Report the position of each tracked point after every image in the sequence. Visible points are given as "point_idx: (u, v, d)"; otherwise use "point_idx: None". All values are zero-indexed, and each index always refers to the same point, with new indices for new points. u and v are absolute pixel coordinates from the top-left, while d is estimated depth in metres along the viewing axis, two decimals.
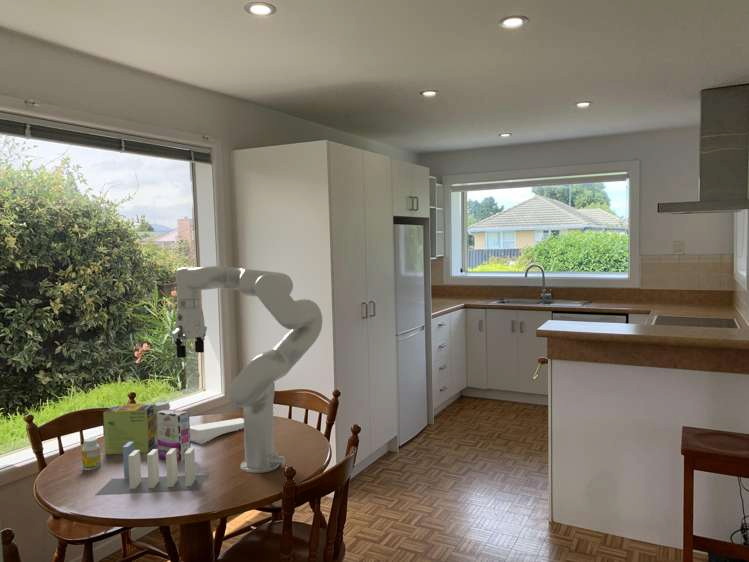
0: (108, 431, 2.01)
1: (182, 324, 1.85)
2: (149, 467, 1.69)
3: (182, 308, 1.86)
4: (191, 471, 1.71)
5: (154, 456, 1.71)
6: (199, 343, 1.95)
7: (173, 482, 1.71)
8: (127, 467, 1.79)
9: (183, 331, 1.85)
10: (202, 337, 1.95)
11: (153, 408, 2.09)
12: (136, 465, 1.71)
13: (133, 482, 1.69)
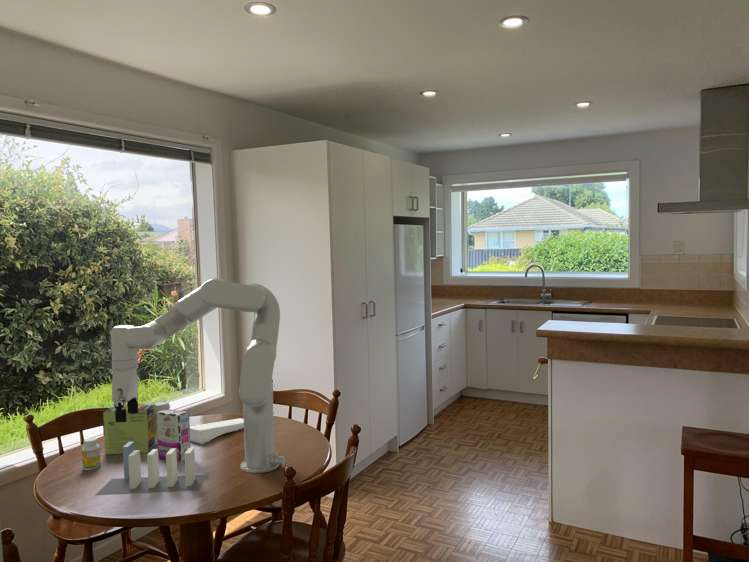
0: (108, 431, 2.01)
1: None
2: (149, 467, 1.69)
3: None
4: (191, 471, 1.71)
5: (154, 456, 1.71)
6: None
7: (173, 482, 1.71)
8: (127, 467, 1.79)
9: None
10: None
11: (153, 408, 2.09)
12: (136, 465, 1.71)
13: (133, 482, 1.69)
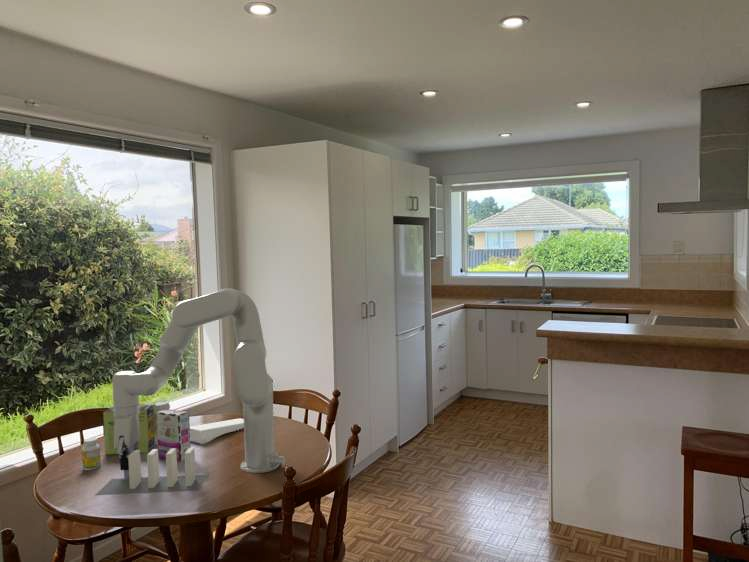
0: (108, 431, 2.01)
1: None
2: (149, 467, 1.69)
3: None
4: (191, 471, 1.71)
5: (154, 456, 1.71)
6: None
7: (173, 482, 1.71)
8: None
9: None
10: None
11: (153, 408, 2.09)
12: (136, 465, 1.71)
13: (133, 482, 1.69)
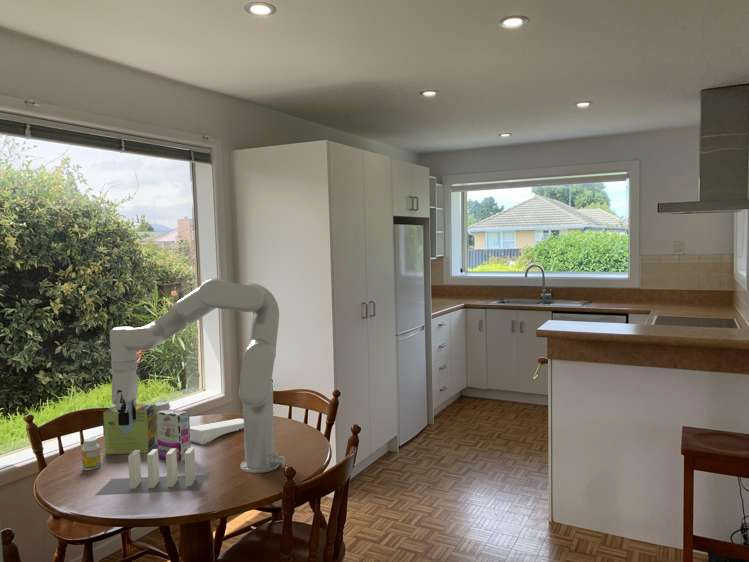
0: (108, 431, 2.01)
1: None
2: (149, 467, 1.69)
3: None
4: (191, 471, 1.71)
5: (154, 456, 1.71)
6: None
7: (173, 482, 1.71)
8: None
9: None
10: None
11: (153, 408, 2.09)
12: (136, 465, 1.71)
13: (133, 482, 1.69)
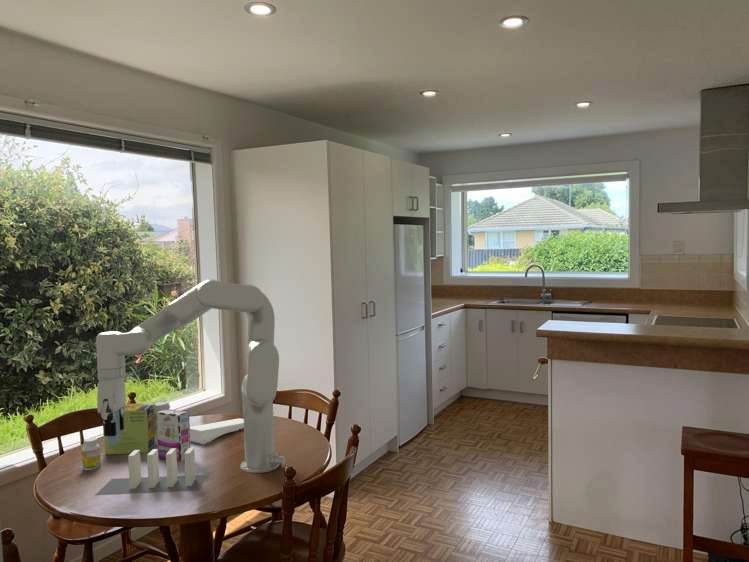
0: None
1: None
2: (149, 467, 1.69)
3: None
4: (191, 471, 1.71)
5: (154, 456, 1.71)
6: None
7: (173, 482, 1.71)
8: None
9: None
10: None
11: (153, 408, 2.09)
12: (136, 465, 1.71)
13: (133, 482, 1.69)
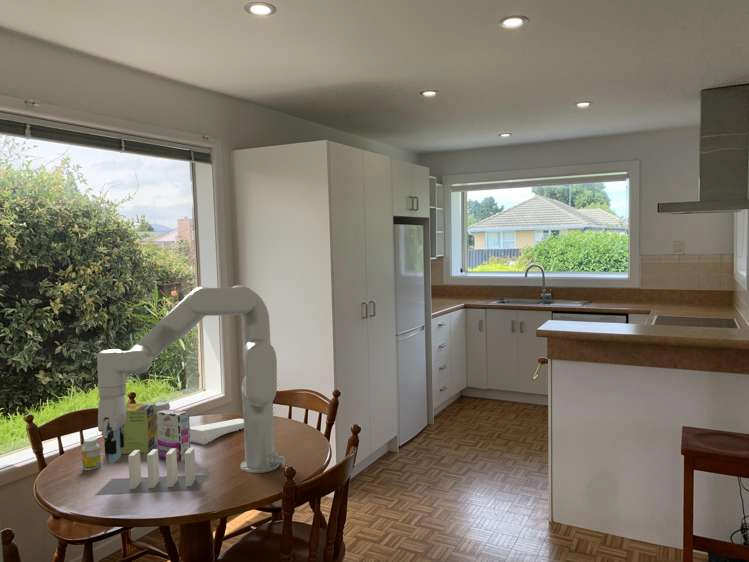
0: None
1: None
2: (149, 467, 1.69)
3: None
4: (191, 471, 1.71)
5: (154, 456, 1.71)
6: None
7: (173, 482, 1.71)
8: None
9: None
10: None
11: (153, 408, 2.09)
12: (136, 465, 1.71)
13: (133, 482, 1.69)
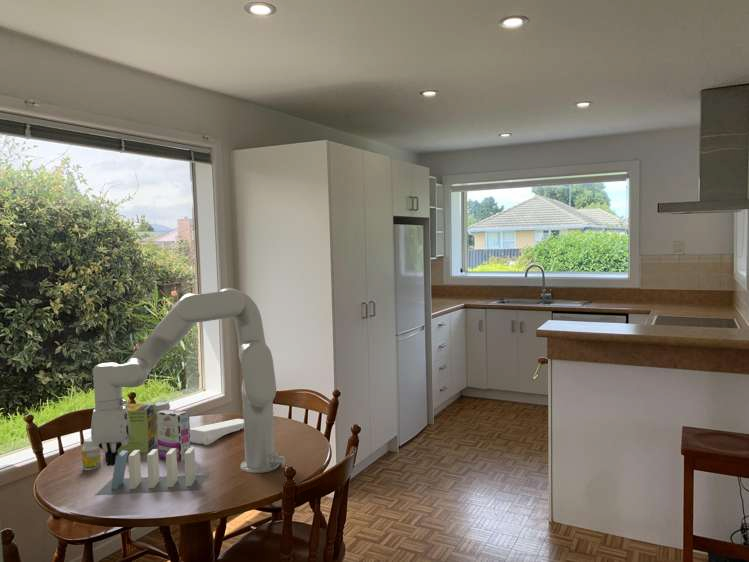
0: None
1: (128, 422, 1.72)
2: (149, 467, 1.69)
3: (122, 407, 1.71)
4: (191, 471, 1.71)
5: (154, 456, 1.71)
6: None
7: (173, 482, 1.71)
8: (116, 478, 1.69)
9: None
10: None
11: (153, 408, 2.09)
12: (136, 465, 1.71)
13: (133, 482, 1.69)
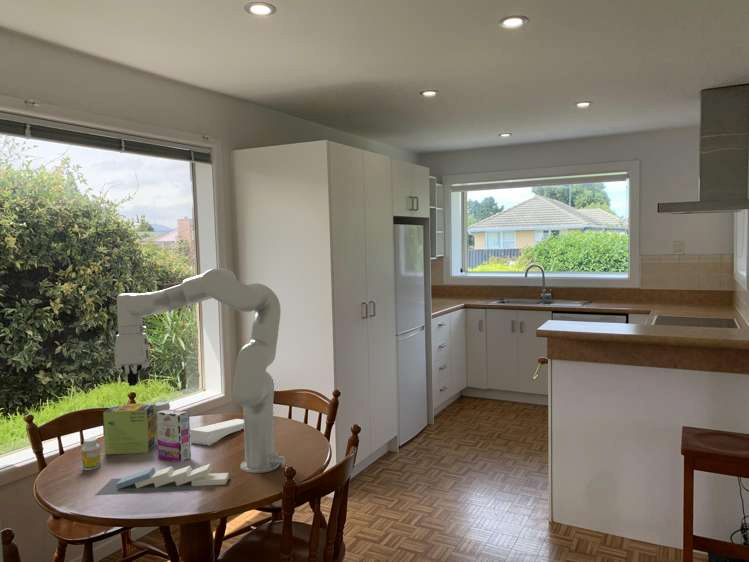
0: (108, 431, 2.01)
1: (147, 347, 1.90)
2: (174, 477, 1.70)
3: (142, 333, 1.89)
4: None
5: None
6: None
7: None
8: (128, 484, 1.69)
9: None
10: None
11: (153, 408, 2.09)
12: None
13: (141, 484, 1.69)
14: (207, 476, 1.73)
